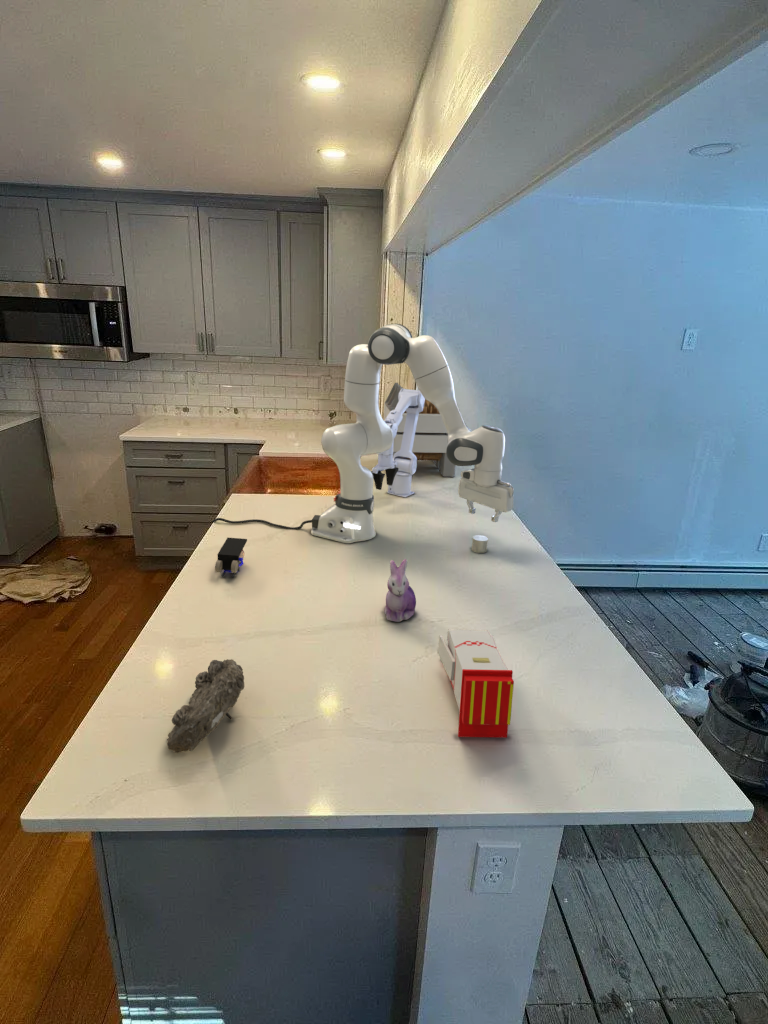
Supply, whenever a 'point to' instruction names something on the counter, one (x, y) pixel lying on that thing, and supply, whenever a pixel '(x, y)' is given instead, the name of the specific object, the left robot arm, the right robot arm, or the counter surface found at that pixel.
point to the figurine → (399, 594)
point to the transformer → (423, 434)
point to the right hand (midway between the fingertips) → (384, 487)
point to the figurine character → (230, 556)
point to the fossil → (206, 705)
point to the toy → (478, 682)
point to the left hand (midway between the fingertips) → (482, 517)
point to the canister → (479, 544)
